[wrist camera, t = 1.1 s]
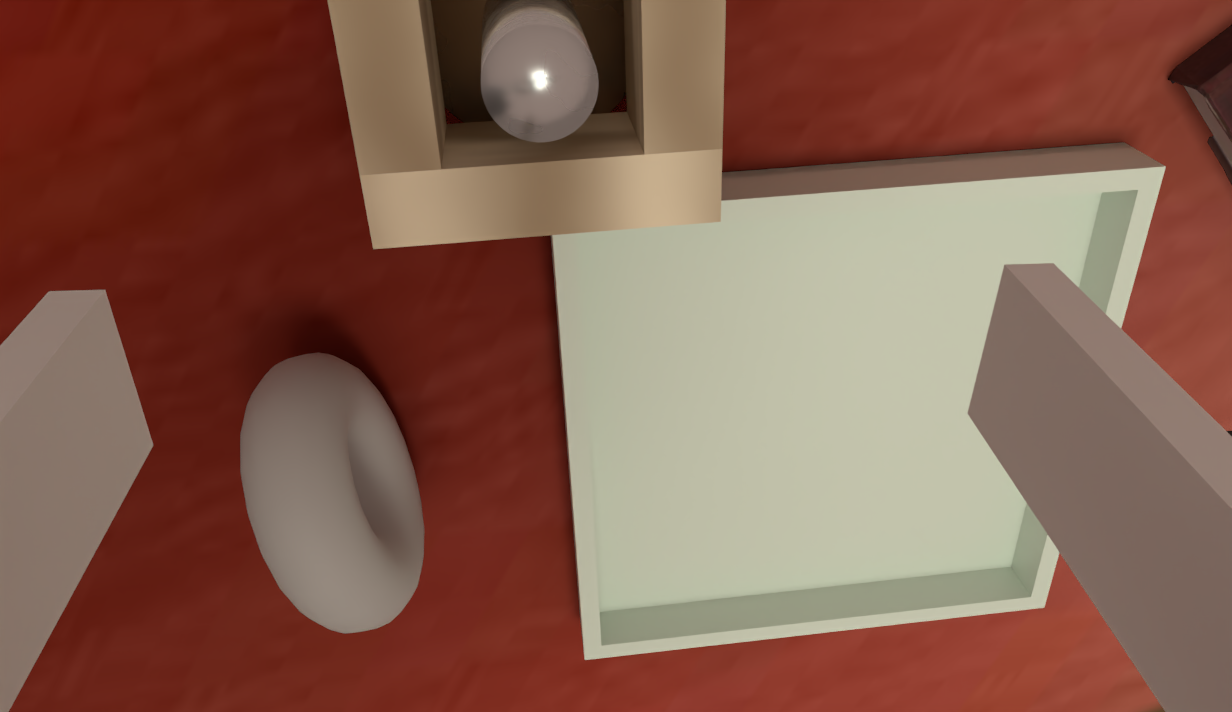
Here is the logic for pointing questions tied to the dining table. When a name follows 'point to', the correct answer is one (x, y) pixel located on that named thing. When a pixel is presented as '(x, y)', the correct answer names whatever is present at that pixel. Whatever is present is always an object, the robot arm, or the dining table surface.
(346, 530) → the donut
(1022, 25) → the dining table surface
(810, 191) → the sage tray
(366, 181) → the wooden square frame
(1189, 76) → the book
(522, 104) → the cylinder
